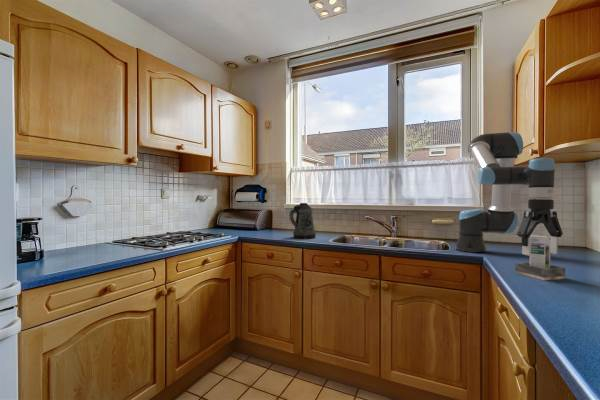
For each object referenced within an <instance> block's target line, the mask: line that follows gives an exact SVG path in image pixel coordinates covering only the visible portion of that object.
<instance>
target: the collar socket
mask: <svg viewBox="0 0 600 400" xmlns="http://www.w3.org/2000/svg"><path fill="white" fill-rule="evenodd" d="M514 264H515V266H514V267H515V268H514V269H515V270H514V273H515V274H517V275H522V276H525V277H529V278H533V279H538V280H541V281H554V280H564V279H565V280H566V267H564V266H563V267H562V266H557V265H553V264H550V268H546V269H543V268H538V267H534V266H530V261H525V262H523V261H522V262H515V263H514Z"/></svg>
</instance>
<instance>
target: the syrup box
mask: <svg viewBox="0 0 600 400" xmlns="http://www.w3.org/2000/svg"><path fill="white" fill-rule="evenodd" d="M529 238H531V256H529V262H530V266H534V267H538V268H543V269H546V268H550V265H551V253H550V244H551V237H550V235H542V234H541V235H540V234H531V235H530V237H529Z"/></svg>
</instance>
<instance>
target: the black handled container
mask: <svg viewBox="0 0 600 400" xmlns="http://www.w3.org/2000/svg"><path fill="white" fill-rule="evenodd" d="M313 211H314V209H313V208H312V207H311V206H310V205H308V203H307V202H300V204H298V205H294V206H293V209H291V210H290V212H289V221H290V222H291V224H292V225H293V226H294V230H293V234H292V235H293V238H295V239H301V240H310V239H311V240H312V239H313V240H314V239H315V238H316V235H317V232H316V230H315V225H314V220H313V219H314V218H313ZM294 214H296V217H295V219H294Z"/></svg>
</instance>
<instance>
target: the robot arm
mask: <svg viewBox="0 0 600 400" xmlns="http://www.w3.org/2000/svg"><path fill="white" fill-rule="evenodd" d="M467 152H468V154H469V156H470V157H471V158H472V159H473V160H474V161H475V163H476V165H477V166H478V168H479V170H478V174H477V180H478V183H479V184H480V185H486V186H487V185H488V186H492V190H491V202H490V203H491V204H490V206H489V207H488V208H487V211H484V209H483V208H479V209H478V208H477V209H465V210H461V211H460V212H459V217H458V220H459V222H458V224H459V225H458V238H457V241H456V244H455V246H454V247H455V250H456V249H457V250H456V251H459V250H461V251H460V252H464V251H468V252H467V253H472V252H485V253H487V246H486V243H485V241H484V233H488V234H501V235H502V234H503V235H504V234H512V233H514V232H515V230H516V228H517V226H518V223H519V222H518V221H519V218H518V214H517V212H515V211H514V210H515V209H514V208H512V205H511V203H512V191H513V190H512V189H513V188H512V187H513V185H518V186H519V185H521V186H522V185H523V186H528V189H527V190H528V193H527V197H528V202H527V208H528V209H529V211H524V212H523V216H522V217H523V218H522V220H521V223H520V225H519V227H518V230H517V232H516V235H517V236H518V237H520V238H521V254H522V255H525V256H529V257H530V256H531V238H530V236H531V235H533V232H534V230H535V229H536V227H537V226H538V225H539V224H542V225H543V226H544V227H545V230H547V232H548V234H549V236H550V237H551V244H550V254H553V255H558V243H559V238H562V235H563V234H564V233H563V230H562V227H561V224H560V222H559V217H558V212H557V211H555V210H554V207H555V200H553V198H554V195H555V171H556V170H555V169H556V167H555V166H556V165H555V160H554V159H553V158H552V157H540V158H539V157H538V158H532V159H530V160H529V161H528V166H514V164H515V163H514V162H515V161H516V160H518V157H519V155H522V154H523V152H524V140H523V137H522V135H521V134H520V133H518V132H515V131H514V132H509V131H508V132H496V133H495V132H494V133H493V132H492V133H483V134H480V135H477V136H476V137H474V138H472V140H471V141H470V142H469V144H468V146H467ZM552 210H553V211H552Z"/></svg>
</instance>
